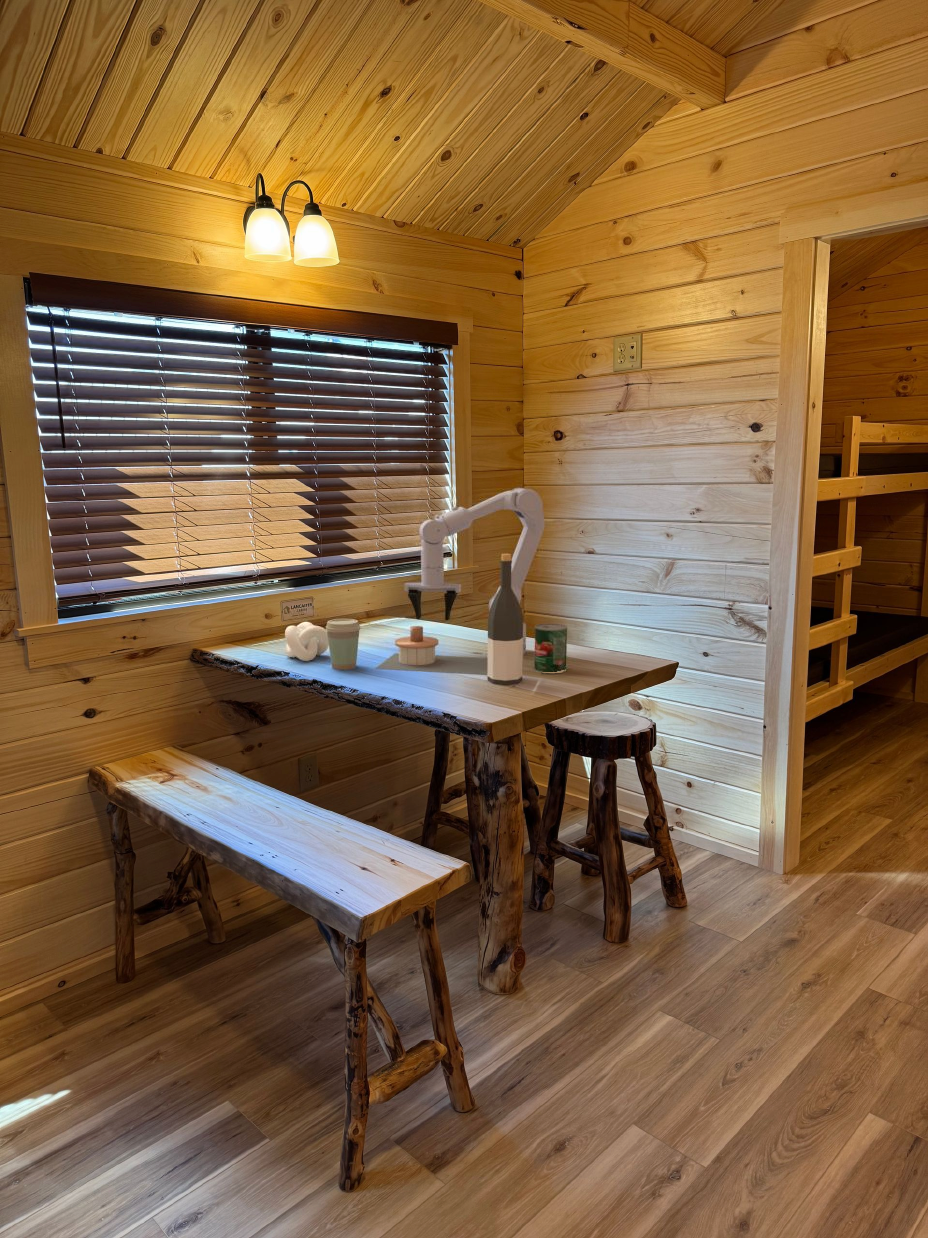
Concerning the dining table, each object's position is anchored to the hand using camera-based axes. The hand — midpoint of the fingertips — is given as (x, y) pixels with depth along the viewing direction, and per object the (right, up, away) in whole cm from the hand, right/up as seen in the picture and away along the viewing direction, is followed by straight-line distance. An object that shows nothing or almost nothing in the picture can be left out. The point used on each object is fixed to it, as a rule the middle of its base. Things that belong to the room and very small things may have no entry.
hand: (433, 619), depth 218 cm
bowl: (-4, -11, -4) cm, 12 cm away
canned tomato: (+29, -13, -11) cm, 34 cm away
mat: (+2, -12, -6) cm, 13 cm away
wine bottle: (+17, -15, -22) cm, 32 cm away
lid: (-4, -6, -5) cm, 9 cm away
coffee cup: (-22, -13, -10) cm, 27 cm away
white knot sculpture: (-34, -11, +1) cm, 35 cm away
